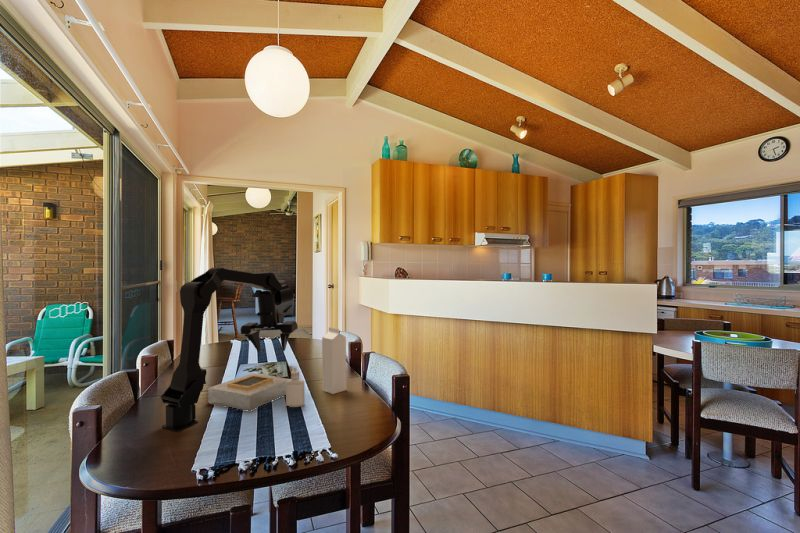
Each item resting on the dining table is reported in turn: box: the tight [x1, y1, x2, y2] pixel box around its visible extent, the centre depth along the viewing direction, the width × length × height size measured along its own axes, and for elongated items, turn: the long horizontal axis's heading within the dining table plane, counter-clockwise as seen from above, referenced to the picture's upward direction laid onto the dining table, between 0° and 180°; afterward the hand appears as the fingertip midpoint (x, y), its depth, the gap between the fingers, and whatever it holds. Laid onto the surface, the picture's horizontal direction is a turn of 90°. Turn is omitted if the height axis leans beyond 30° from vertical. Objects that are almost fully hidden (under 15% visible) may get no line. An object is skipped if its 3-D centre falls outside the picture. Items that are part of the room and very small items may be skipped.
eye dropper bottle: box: [285, 366, 306, 408], centre depth 118 cm, size 4×6×12 cm
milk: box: [321, 327, 347, 395], centre depth 133 cm, size 6×6×22 cm
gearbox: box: [207, 373, 290, 412], centre depth 127 cm, size 23×18×6 cm
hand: (271, 351), depth 133 cm, fingers open, 9 cm apart
